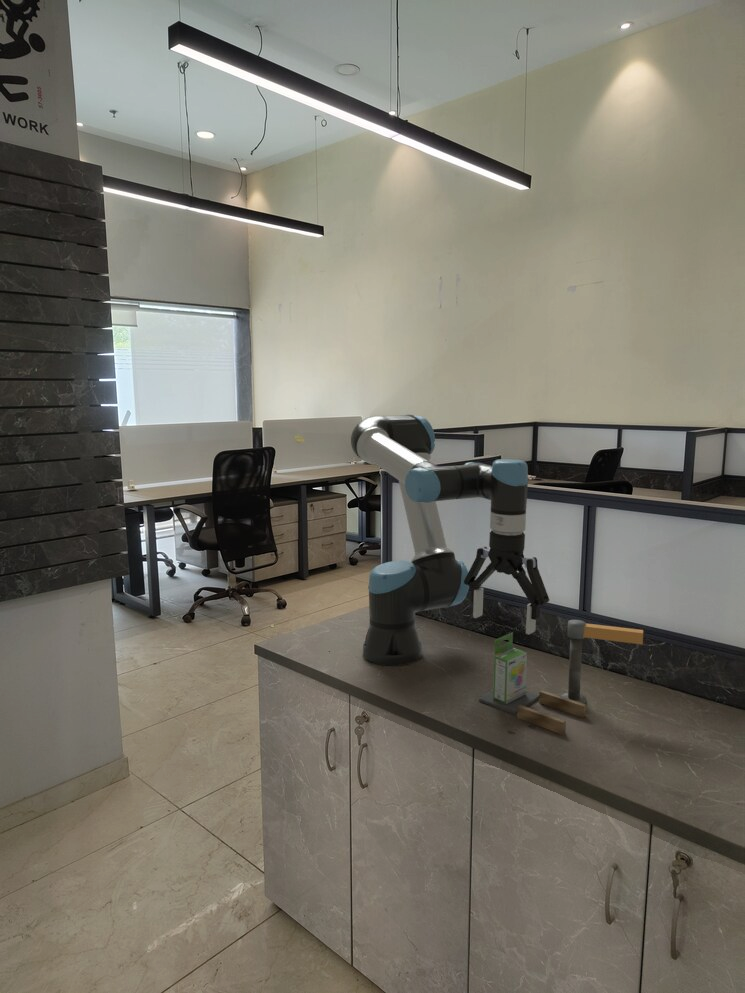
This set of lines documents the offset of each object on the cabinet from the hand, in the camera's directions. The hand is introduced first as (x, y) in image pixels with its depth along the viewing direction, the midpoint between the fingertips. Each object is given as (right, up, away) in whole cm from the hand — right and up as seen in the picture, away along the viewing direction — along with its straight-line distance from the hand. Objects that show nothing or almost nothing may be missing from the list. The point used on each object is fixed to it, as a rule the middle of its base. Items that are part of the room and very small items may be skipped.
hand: (503, 624), depth 142 cm
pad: (+1, -16, -3) cm, 16 cm away
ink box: (+1, -15, -4) cm, 16 cm away
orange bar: (+19, -1, -8) cm, 21 cm away
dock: (+10, -16, -9) cm, 21 cm away
